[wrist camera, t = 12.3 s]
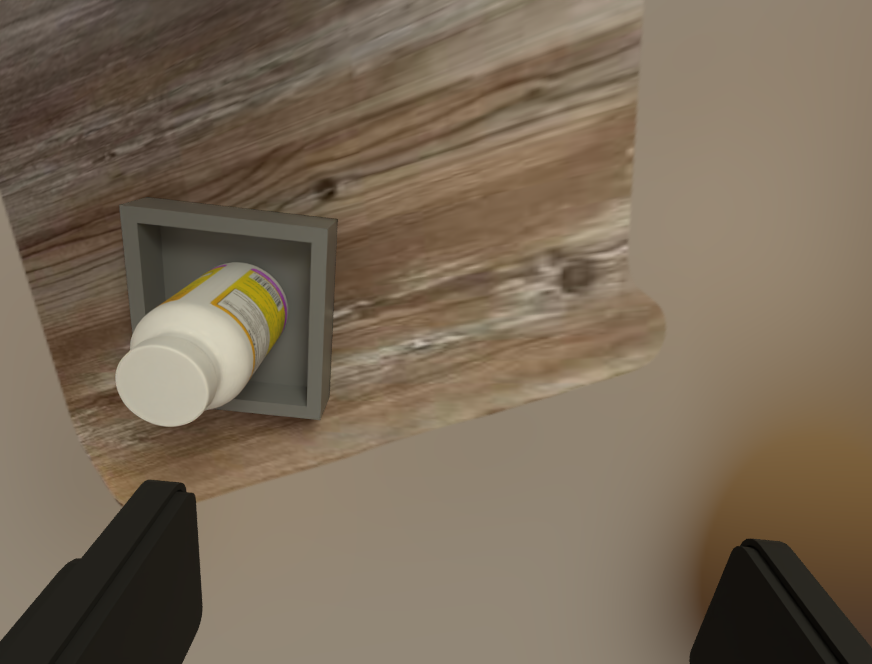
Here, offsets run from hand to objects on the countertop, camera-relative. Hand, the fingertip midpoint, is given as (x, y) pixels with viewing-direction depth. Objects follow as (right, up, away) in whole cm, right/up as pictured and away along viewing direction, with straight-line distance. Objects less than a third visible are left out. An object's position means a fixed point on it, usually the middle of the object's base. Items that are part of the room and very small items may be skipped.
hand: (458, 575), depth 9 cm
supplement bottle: (-14, +6, +30) cm, 34 cm away
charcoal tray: (-14, +6, +30) cm, 34 cm away
